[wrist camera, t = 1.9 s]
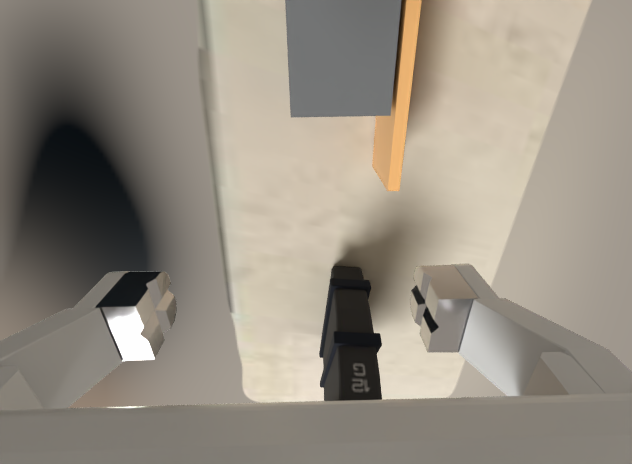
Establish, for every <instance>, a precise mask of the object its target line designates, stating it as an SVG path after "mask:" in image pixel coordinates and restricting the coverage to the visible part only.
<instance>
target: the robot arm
mask: <svg viewBox="0 0 632 464" xmlns="http://www.w3.org/2000/svg"><path fill="white" fill-rule="evenodd" d="M413 279H414V281H415V283H416V286H415V287H414V288H413V289H412V290H411V297H410V305H411V312H412V316H413V319H414V321H415V323H417V324H418V325H420V326H421V329H420V336H421V338H422V340H423V343H424V345H425V347H426V350H427V352H459V354H460V355H461V356H462V357H463V358H464V359H465V360H467V361H468V362H469V363H470V364H471V365H473V367H475V368H476V369H477V370H478V371H479V372H481V373H482V374H483V375H484V376H485V377H486V378H488V379H489V380H490V381H491V382H492V383H493V384H494V385H495V386H497V387H498V388H499V389H500V390H501V391H502V392H504V393H505V394H506V395H507V396H497V397H462V398H425V399H386V400H347V401H309V402H273V403H238V404H201V405H167V406H128V407H92V408H68V407H69V406H70V405H72V404H73V403H74V402H75V401H77V400H78V399H79V398H80V397H81V396H82V395H84V394H85V393H86V392H87V391H89V390H90V389H91V388H92V387H93V386H94V385H96V384H97V383H98V382H99V381H101V380H102V379H103V378H104V377H105V376H107V375H108V374H109V373H110V372H111V371H113V370H114V369H115V368H116V367H117V366H119V365H120V364H121V363H122V361H129V360H147V359H155V357H156V355H157V353H158V351H159V350H160V348H161V346H162V344H163V342H164V337H163V333H165V332H166V331H167V330H169V329H170V328H171V327H172V325H173V323H174V321H175V316H176V311H177V308H176V300H175V296H174V295H173V294H172V293H170V292H169V291H168V288H169V286H170V284H171V282H170V279H169V276H168V274H167V273H166V272H164V271H130V272H127V271H123V272H110V273H107V274H106V275H105V276H104V277H103V278H102V279H101V280H100V281H99V282H98V283H97V284H96V285H95V286H94V287H93V288H92V290H91V291H89V293H88V294H87V295H86V296H85V297H84V298H83V299H82V300H81V301H80V302H79V303H78V304H77V305H76V306H75V307H74V308H73V309H65V310H63V311H61V312H59V313H57V314H55V315H53V316H51V317H49V318H47V319H44V320H42V321H41V322H38V323H36V324H34V325H32V326H30V327H28V328H26V329H24V330H22V331H20V332H17V333H15V334H13V335H11V336H9V337H7V338H5V339H3V340H1V341H0V464H632V372H631V370H630V369H629V368H627V367H626V366H625V365H624V364H623V363H622V362H621V361H620V360H619V359H618V358H617V357H616V356H615V355H614V354H613V353H611V351H610V350H608V349H606V348H604V347H602V346H600V345H598V344H596V343H594V342H592V341H590V340H588V339H586V338H584V337H582V336H580V335H578V334H576V333H574V332H572V331H570V330H568V329H566V328H564V327H562V326H560V325H558V324H556V323H554V322H552V321H550V320H548V319H546V318H544V317H542V316H540V315H538V314H536V313H534V312H532V311H530V310H528V309H526V308H524V307H522V306H520V305H518V304H516V303H514V302H512V301H510V300H507V299H505V298H504V299H503V298H499V297H498V296H497V295H496V294H495V292H494V291H493V290H492V289H491V288H490V286H489V285H488V284H487V283H486V281H485V280H484V279H483V278H482V277H481V275H480V274H479V273H478V272H477V271H476V269H475V268H474V267H473V266H472V265H470V264H453V265H436V266H416V269H415V271H414V277H413Z"/></svg>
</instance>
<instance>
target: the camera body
mask: <svg viewBox="0 0 632 464" xmlns="http://www.w3.org/2000/svg"><path fill="white" fill-rule="evenodd" d="M285 3H286V24H287V45H288V67H289V88H290V109H291V117H338V116H391V107H392V96H393V85H394V74H395V64H396V53H397V42H398V31H399V21H400V10H401V0H285Z"/></svg>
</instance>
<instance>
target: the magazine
mask: <svg viewBox="0 0 632 464" xmlns="http://www.w3.org/2000/svg"><path fill="white" fill-rule="evenodd" d="M370 290H371V285H370V281H369V280H364V279H363V275H362V271H361V269H360V268H356V267H339V266H334V267H333V268H332V271H331V279H330V285H329V291H328V298H327V305H326V312H325V319H324V325H323V332H322V339H321V346H320V353H319V355H320V357H321V358H323V364H324V370H323V373H322V377H321V381H320V387H324V401H347V400H382V395H381V385H380V375H379V368H378V360H377V352H378V351H379V349H380V347H381V346H382V343H381V337H380V334H379V333H374V332H373V325H372V319H371V312H370V307H369V302H368V298H369V294H370Z"/></svg>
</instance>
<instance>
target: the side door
mask: <svg viewBox="0 0 632 464" xmlns="http://www.w3.org/2000/svg"><path fill="white" fill-rule="evenodd" d="M421 1H422V0H401V10H400V21H399V31H398V42H397V53H396V64H395V74H394V85H393V96H392V107H391V116H376V122H375V136H374V150H373V164H372V167H373V168H374V170H375V171H376V173H377V175H378V176H379V178H380V179H381V181H382V183H383V184H384V186H385V188H386V189H387V191H399V189H400V180H401V172H402V164H403V156H404V147H405V138H406V129H407V121H408V112H409V103H410V95H411V86H412V78H413V69H414V61H415V52H416V44H417V35H418V27H419V18H420V10H421Z"/></svg>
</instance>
